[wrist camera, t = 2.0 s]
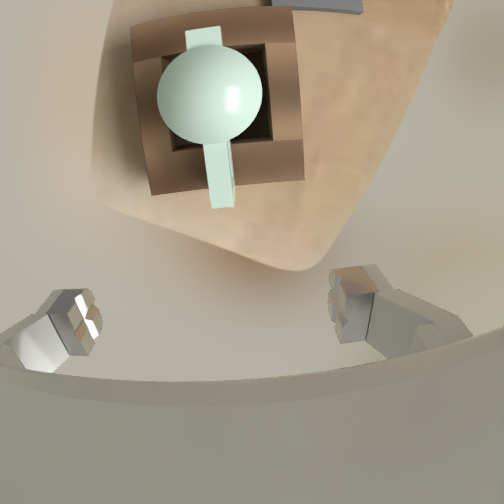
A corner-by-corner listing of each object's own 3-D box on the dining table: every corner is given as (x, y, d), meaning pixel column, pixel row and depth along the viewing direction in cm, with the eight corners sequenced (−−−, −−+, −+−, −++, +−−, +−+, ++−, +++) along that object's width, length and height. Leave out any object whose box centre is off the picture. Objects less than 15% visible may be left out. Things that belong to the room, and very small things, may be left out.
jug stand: (145, 36, 20) (130, 27, 16) (284, 19, 20) (291, 5, 16) (163, 182, 26) (151, 195, 23) (295, 169, 26) (304, 180, 23)
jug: (181, 57, 21) (150, 37, 13) (251, 48, 21) (255, 21, 13) (195, 179, 27) (175, 214, 19) (262, 172, 26) (271, 205, 18)
